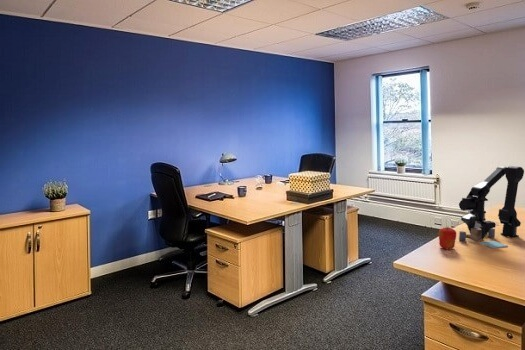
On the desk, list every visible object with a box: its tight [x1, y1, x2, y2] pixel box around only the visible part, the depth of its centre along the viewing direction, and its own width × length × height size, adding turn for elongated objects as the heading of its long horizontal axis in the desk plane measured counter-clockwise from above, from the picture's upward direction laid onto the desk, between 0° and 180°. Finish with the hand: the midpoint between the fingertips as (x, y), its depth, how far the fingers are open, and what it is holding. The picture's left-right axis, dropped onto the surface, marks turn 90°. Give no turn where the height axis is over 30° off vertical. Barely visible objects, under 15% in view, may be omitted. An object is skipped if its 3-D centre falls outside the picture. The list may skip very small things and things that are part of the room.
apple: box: [438, 226, 457, 250], centre depth 195 cm, size 9×8×12 cm
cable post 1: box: [458, 230, 467, 243], centre depth 207 cm, size 3×3×5 cm
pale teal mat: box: [478, 240, 508, 249], centre depth 198 cm, size 9×9×1 cm
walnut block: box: [469, 227, 485, 242], centre depth 209 cm, size 4×4×6 cm
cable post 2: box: [487, 228, 496, 239], centre depth 211 cm, size 3×3×5 cm
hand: (477, 236), depth 209 cm, fingers open, 8 cm apart
